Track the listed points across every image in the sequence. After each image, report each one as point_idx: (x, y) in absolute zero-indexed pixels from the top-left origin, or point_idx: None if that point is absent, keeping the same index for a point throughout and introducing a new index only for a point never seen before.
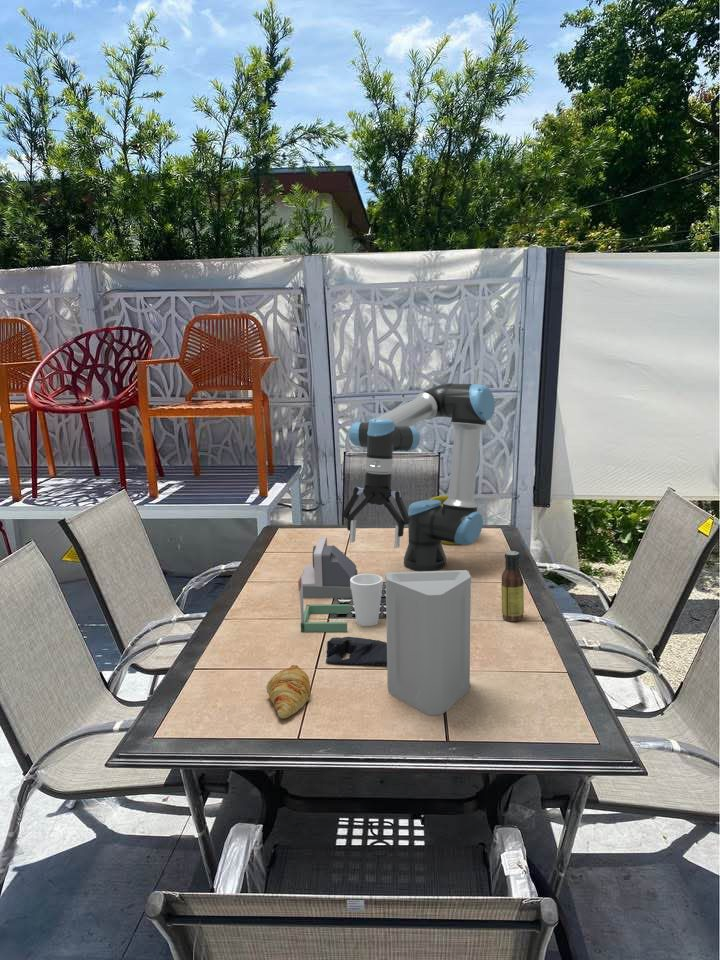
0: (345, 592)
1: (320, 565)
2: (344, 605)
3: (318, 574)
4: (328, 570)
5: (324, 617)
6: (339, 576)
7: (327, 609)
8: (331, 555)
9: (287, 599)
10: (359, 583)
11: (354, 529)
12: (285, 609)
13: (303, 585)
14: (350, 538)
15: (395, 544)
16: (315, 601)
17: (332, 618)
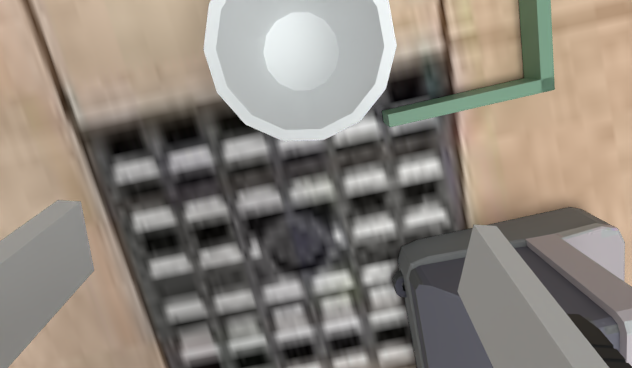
0: (432, 246)
1: (587, 282)
2: (407, 111)
3: (569, 259)
4: None
5: (464, 56)
6: None
7: (466, 94)
8: None
9: (624, 184)
10: (351, 97)
11: (509, 346)
12: (618, 97)
13: (601, 224)
14: (506, 244)
15: (52, 216)
16: (523, 188)
17: (433, 54)
